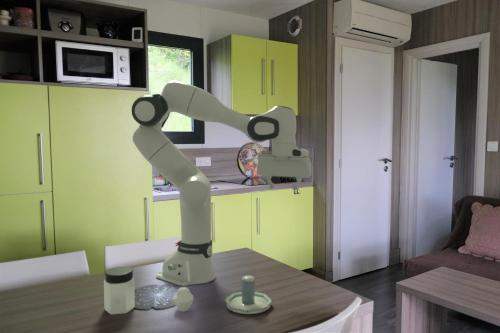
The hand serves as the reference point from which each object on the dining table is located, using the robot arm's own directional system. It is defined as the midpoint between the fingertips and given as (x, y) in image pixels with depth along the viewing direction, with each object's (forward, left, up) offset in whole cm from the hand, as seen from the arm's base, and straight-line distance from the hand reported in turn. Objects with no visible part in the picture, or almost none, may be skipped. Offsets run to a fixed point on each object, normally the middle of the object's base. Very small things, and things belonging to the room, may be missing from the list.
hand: (283, 188), depth 146 cm
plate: (-2, -26, -34) cm, 43 cm away
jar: (-37, -45, -34) cm, 68 cm away
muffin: (-19, -37, -34) cm, 54 cm away
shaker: (-2, -26, -33) cm, 42 cm away
